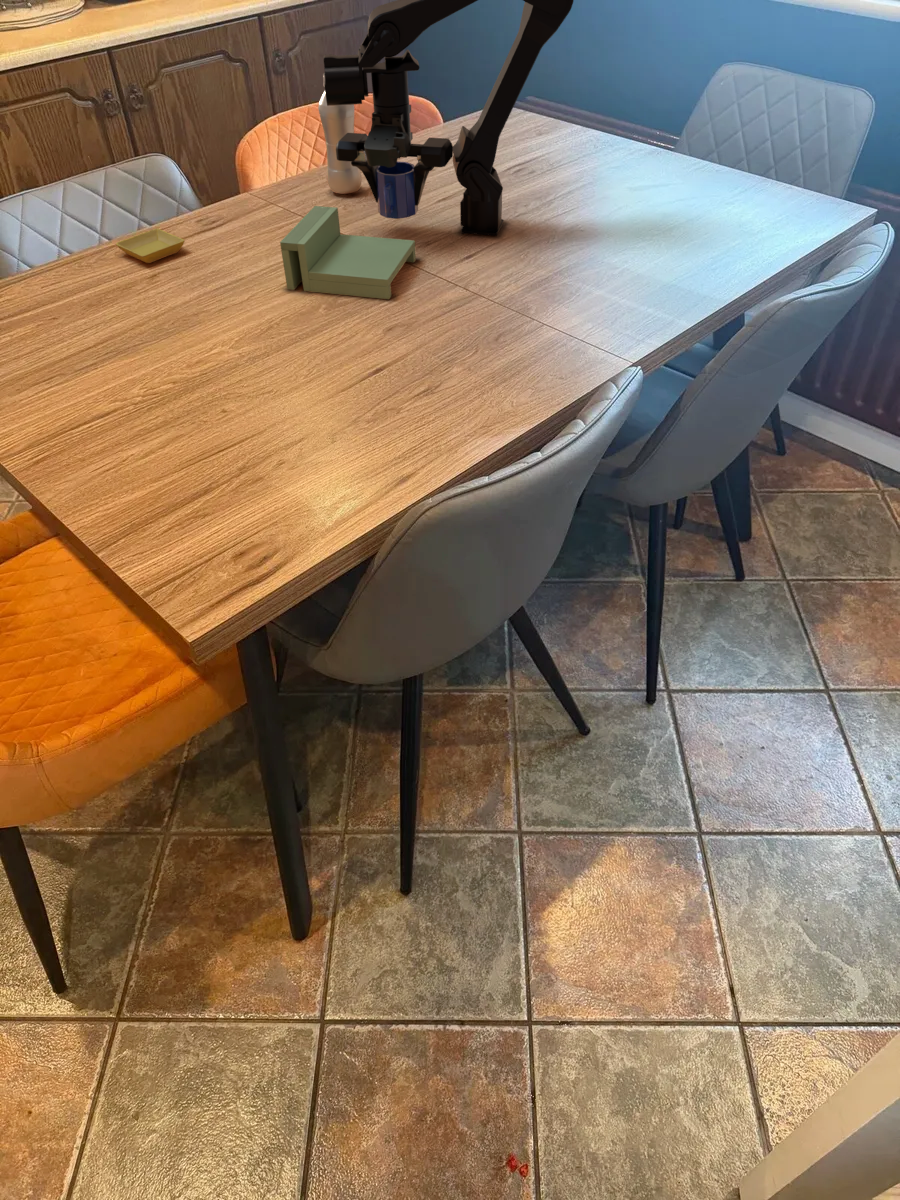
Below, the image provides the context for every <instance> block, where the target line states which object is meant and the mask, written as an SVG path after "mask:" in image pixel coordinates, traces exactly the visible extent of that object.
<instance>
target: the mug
mask: <svg viewBox="0 0 900 1200" xmlns="http://www.w3.org/2000/svg"><path fill="white" fill-rule="evenodd" d="M414 167H415V164H413V163H410V162H408V161H398V160H397V163H396V165H395V166H394V167H390V168H389V167H386V166H377V167H376V168H375V175H376V187H377V200H378V203H377V212H378V214H379V216H381V217H384V218H386V219H394V220H395V219H396V220H398V219H406V218H410V217H412V216H415V215H417V213H418V211H419V205H418V206H416V205H415V172H414V169H413V168H414Z"/></svg>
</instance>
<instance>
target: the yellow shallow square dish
mask: <svg viewBox="0 0 900 1200" xmlns="http://www.w3.org/2000/svg"><path fill="white" fill-rule="evenodd" d="M185 241H186V240H185V239H184V238H182V237H179V236H177V235H175V234H172V233H169V232H168V231H166V230H163V229H161V228H154V229H150V230H148V231H145V232H142V233H138V234H137V235H134V236H132V237H129V238H126V239H122V240H120V241H117V242H116V243H115V246H117V247H118V249H120V250H122V252H124V253H125V254H127V255H128V256H131V257H133V258H135V259H137V260H139V261H142V262H143V263H146V264H151V263H153V262H156V261H158V260H162V259H163V258H166V257H169V256H171V255H174V254H177V253H178V252H179V251H180V250H181V249H182V247H183V246H184V244H185Z"/></svg>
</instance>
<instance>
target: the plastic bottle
mask: <svg viewBox="0 0 900 1200" xmlns="http://www.w3.org/2000/svg"><path fill="white" fill-rule="evenodd" d="M322 80H323V83H322V85H323V88H325V85H324V84H325V72H324V73H322ZM317 106H318V107H317V108H318V109H317V111H318V115H319V118H320V122H321V127H322V129H323V135H324V140H325V148H326V181H327V185H328V187H329V189H330V190H331V191H332V192H333V193H335V194H344V195H347V194H353V193H355V192H358V191H359V190H360V188H361V186H362V180H363V179H362V171H361V170H360V169H359V168H358V167H355V166H352V165H351V162H352V161H339V160H337V156H336V144H337V143H338V141H339V140H340V139H341V138H342V137H344V136H345V135H346V134H347V133H355V112H356V111H355V104H354V105H335V106H327V102H326V94H325V90H324V91H323V93H322V95H321V96H320V99H319V101H318V105H317Z"/></svg>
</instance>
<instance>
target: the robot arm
mask: <svg viewBox="0 0 900 1200" xmlns="http://www.w3.org/2000/svg"><path fill="white" fill-rule="evenodd" d="M477 1H479V0H394V1H390V2H386V3H384V4H383V3H382V4H381V5H377V6H376V7H375V8H374V9H373V10H371V12H370V14H369V16H368V20H367V34H366V35H365V37H364V39H363V41H362V43H361V44H360V45H359V49H358V50H357V54H343V55H342V54H341V55H337V54H324V55H323V68H324V73H325V84H324V85H325V87H324V91H325V94H326V102H327V106H335V105H354V106H355V105H363V101H365V100H366V97H367V98H368V97H369V85H368V84H369V83H368V74H370V77H371V90H372V103H373V112H372V113H371V128H370V130H369V132H368V134H367V133H360V132H359V133H358V132H354V133H347V134H346V135H345V136H344V137H342V138H341V139H340V140H339V141H338V143H337V144H336V156H337V160H339V161H352V162H351V165H352V166H355V167H358V168H359V169H360V172H361V173H362V175H363V176H364V178H365V179H366V181H367V184H368V186H369V189H370V191H371V193H372V195H373V198H374V200H375V202H376V204H378V200H377V187H376V175H375V168H376V167H377V166H386V167H389V168H390V167H394V166H395V165H396V163H397V161H398V160H400V159H401V158H408V157H409V158H416V160H417V163H416V164H414V166H415V167H414V168H413V169H414V172H415V205H416V206H418V207H419V205H420V202H421V199H422V196H423V192H424V189H425V185H426V182H427V179H428V176H429V173H430V172H431V171H433V170H434V168H443V167H446V166H447V165H448V163H449V162H450V160H451V159H452V165H453V168H454V173H455V175H456V179H457V181H458V183H459V184H460V185H461V186H462V187H463V188H464V189H465V190H464V192H463V193H462V197H463V198H462V199H461V201H460V203H459V209H460V213H459V215H460V217H459V220H460V226H461V228H460V233H461V234H468V235H478V236H479V235H480V236H490V237H497V236H498V235H499V232H500V231H501V228H502V227H503V225H504V223H505V220H504V219H503V218H502V215H503V190H504V187H503V184H502V182H501V179H500V176H499V174H498V172H497V169H496V168H495V167H494V163H495V161H496V160H495V159H496V156H497V149H498V144H499V140H500V136H501V134H502V132H503V130H504V128H505V126H506V124H507V121H508V119H509V118H510V116H511V113H512V111H513V109H514V107H515V105H516V104H517V103H516V102H517V101H518V98H519V96H520V94H521V92H522V90H523V88H524V86H525V83H526V81H527V80H528V77H529V75H530V74H531V71H532V69H533V67H534V65H535V63H536V61H537V59H538V57H539V54H540V53H541V50H542V49H543V47H544V46H545V45H546V44H547V42H549V40H551V38H552V37H553V36H554V35H555V34H556V32H558V30H559V29H560V27H561V25H562V24H563V22H564V21H565V20H566V18H567V17H568V15H569V13H570V12H571V11H572V8H573V4H574V1H575V0H522V1H523V2H524V4H523V8H522V12H521V19H520V22H519V28H518V32H517V34H516V36H515V38H514V41H513V43H512V44H511V47H510V48H509V49H510V50H509V51H508V54H507V56H506V58H505V60H504V62H503V65H502V67H501V69H500V72H499V74H498V75H497V78H496V79H495V82H494V84H493V87H492V89H491V91H490V93H489V95H488V97H487V99H486V102H485V104H484V106H483V108H482V111H481V113H480V114H479V117H478V119H477V121H476V122H475V123H474V124H473V125H472V127H471V128H470V129H468V128H467V127H465V126H464V125H462V126H461V128H460V131H459V135H458V138H457V140H456V142H455V144H454V145H453V143H452V141H451V140H450V139H449V138H444V137H442V138H441V137H427V139H426V141H425V142H424V143H412V141H413V139H414V138H413V135H414V134H413V132H412V131H411V113H412V104H410V94H409V93H410V91H409V73H408V72H415V71H420V68H421V67H420V64H419V61H418V59H416V58H415V57H414V56H413V55H412V53H411V51H410V50H409V49H407V48H408V47H409V46H410V45H411V44H413V43H414V42H415V41H416V40H417V39H418V38H419V37H420V36H421V35H422V34H423V32H424V33H425V31H426V30H427V29H429V28H430V27H431V26H434V25H435V24H436V23H439V22H440V21H443V20H444V19H446V18H447V17H450V16H451V15H454V14H455V13H457V12H459V11H461V10H463V9H464V8H467V7H468V6H470V5H472V4H474V3H476V2H477ZM405 49H406V50H405ZM403 51H405V52H404V53H403V54H402V55H400V56H399V54H400V53H402V52H403ZM397 55H398V56H397ZM383 59H384V62H381V61H382V60H383Z"/></svg>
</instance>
